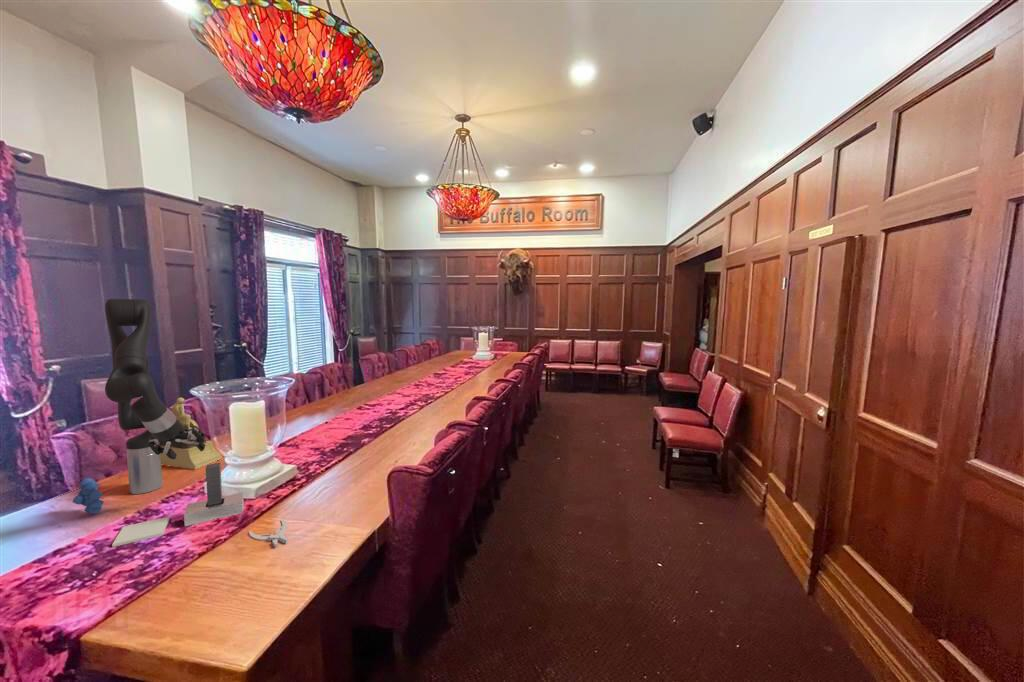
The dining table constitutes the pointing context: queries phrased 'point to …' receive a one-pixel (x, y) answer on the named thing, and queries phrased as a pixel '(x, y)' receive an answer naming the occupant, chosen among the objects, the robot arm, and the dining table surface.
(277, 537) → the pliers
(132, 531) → the sage pad
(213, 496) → the steel peg
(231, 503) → the grey slotted block
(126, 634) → the dining table surface
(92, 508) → the grapes
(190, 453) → the seated figure statue
